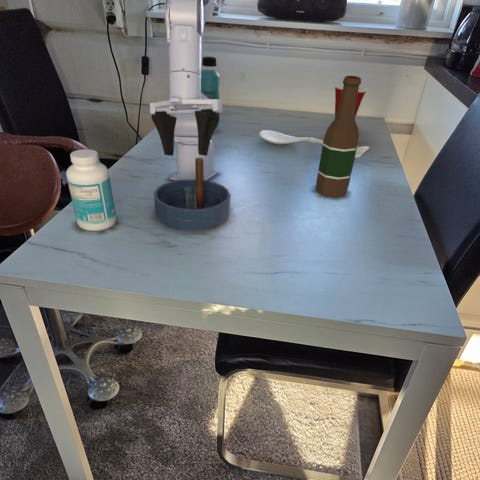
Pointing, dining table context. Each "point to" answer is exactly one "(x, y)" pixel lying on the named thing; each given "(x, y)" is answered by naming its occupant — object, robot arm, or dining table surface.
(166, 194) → the bowl
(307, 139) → the spoon
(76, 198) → the pill bottle
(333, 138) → the beer bottle
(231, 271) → the dining table surface
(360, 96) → the plastic cup
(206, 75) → the beverage bottle
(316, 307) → the dining table surface
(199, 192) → the stirring stick
